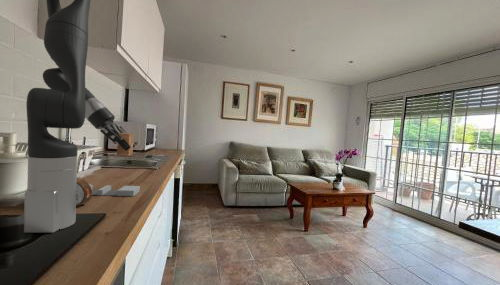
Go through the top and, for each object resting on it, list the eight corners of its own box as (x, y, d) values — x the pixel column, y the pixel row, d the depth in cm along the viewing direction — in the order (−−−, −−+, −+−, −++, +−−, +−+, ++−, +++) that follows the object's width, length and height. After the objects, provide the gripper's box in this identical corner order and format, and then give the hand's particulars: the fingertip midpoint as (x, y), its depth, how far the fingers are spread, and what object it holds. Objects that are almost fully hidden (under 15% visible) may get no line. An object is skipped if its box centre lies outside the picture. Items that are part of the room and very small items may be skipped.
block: (128, 155, 86) (129, 133, 85) (117, 155, 85) (117, 133, 85) (132, 154, 90) (133, 133, 89) (121, 154, 89) (122, 133, 89)
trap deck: (133, 196, 85) (133, 189, 85) (65, 194, 82) (65, 188, 82) (139, 191, 92) (139, 185, 92) (76, 189, 89) (76, 183, 89)
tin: (92, 205, 74) (93, 178, 73) (84, 208, 71) (85, 180, 70) (49, 200, 75) (49, 174, 75) (39, 203, 72) (39, 176, 72)
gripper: (94, 104, 78) (131, 143, 81) (113, 108, 92) (144, 140, 95) (77, 119, 78) (114, 157, 80) (98, 120, 92) (130, 153, 94)
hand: (130, 148), depth 88 cm, fingers closed on block, 4 cm apart
